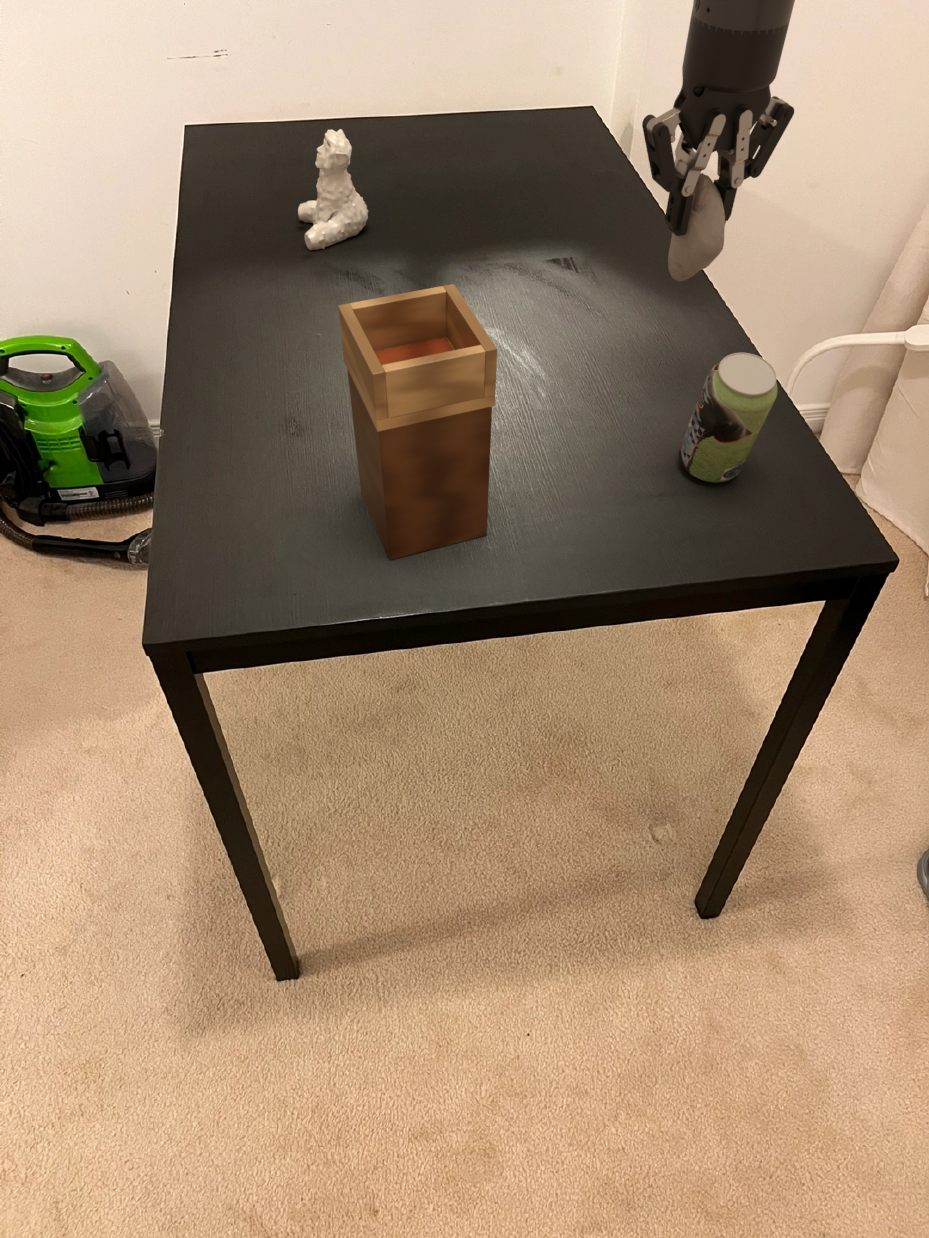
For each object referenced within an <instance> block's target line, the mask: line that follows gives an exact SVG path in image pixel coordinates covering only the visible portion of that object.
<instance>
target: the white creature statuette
mask: <svg viewBox="0 0 929 1238" xmlns="http://www.w3.org/2000/svg"><path fill="white" fill-rule="evenodd" d="M316 151H317V153H316V160H315V163H314V164H315V167H316V168H317V169H319V174H318V176H319V177H318V178H317V183H316V185H315V187H316V192H317V193H316V194H317V197H316V200H315V199H314V200H307V201H306V202H302V203H300V204H299V206H298V208H297V215H298V220H299V221H300V222H301V221H302V222H303V223H308V224H309V223H310V224H313V225H312V226H311V227H310V229H308V230H307V231H306V232H305V233H304V235H303V236H304V242H305V246H306V248H307V249H308V250H309V251H317V250H321V249H323V250H325V248H326V247H329V246H332V245H335V244H337V243H340V242H342V241H344V240H345V241H346V240H347V239H348V238H352V237H355V236H357V235H358V234H359V233H360V232H361V231H363V228H364V227H365V226H367V221H368V219H369V210H368V205H367V204H366V201H364V198H363V196H361V195H360V193H358V192H357V191H356V188H355V187H354V184H353V180H352V175H351V174H350V172H348V168H349V166H350V165H351V157H352V151H353V147H352V145H351V143H350V140H349V139H348V138H347V137H346V134H345V132H344V130H343V129H342V128H340V129H338V130H337V131H335V130H334V129H333V128H332V129H327V131H326V132H325V133H324V138H323V144H321V145H320V146H318V147H317V148H316Z"/></svg>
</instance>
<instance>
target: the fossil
mask: <svg viewBox="0 0 929 1238" xmlns="http://www.w3.org/2000/svg"><path fill="white" fill-rule="evenodd" d="M692 195H693V196H694V198H693V203H692V207H691V212H690V217H689V222H688V227H687V232H686V234H685V235H682V236H676V235H675V234H674V233H673V232H672V231H671V241H670V244H669V249H668V255H667V263H668V264H667V265H668V266H667V267H668V272H669V274H670V276H671V278H672V279H673V280H674V281H676V282H685V281H687V280H689V279H690V278H692V277H694V276H695V275H696V274H697V273H698V272H701V271H702V270H704V269H706V268H708V267H709V266H710V265H711V264H712V263H713V262H714V261H715V260H716V259H717V258H718V257H719V255H720V254H721V253H722V251H723V249H724V245H725V227H726V223H725V214H724V208H723V202H722V198H721V195H720V192H719V191H718V189H717V187H716V186H715V185H714V180H712V178H711V177H710V176H709V175H707V174H705V173H703V172H700V175H699V178H698V180H697V183H696V186H695V188H694V191H693V193H692Z"/></svg>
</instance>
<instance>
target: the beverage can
mask: <svg viewBox="0 0 929 1238" xmlns="http://www.w3.org/2000/svg"><path fill="white" fill-rule="evenodd" d="M777 396H778V384H777V373H776V370H775V368H774V367H773V365H772V364H771V363H770V362H768V361H767V360H766V359H764V358H763V357H761V356H759V355H757V354H753V353H749V352H734V353H731V354H728V355H725V357H723V358H722V359H721V361H719V362H717V363H716V364H715V365H714V366H713V367H712V368H711V369H710V370H709V372H708V374H707V376H706V379H705V381H704V384H703V386H702V389H701V392H700V394H699V397H698V399H697V402H696V404H695V407H694V409H693V412H692V415H691V417H690V420H689V423H688V426H687V428H686V430H685V433H684V435H683V437H682V441H681V443H680V446H679V450H678V458H679V461H680V463H681V465H682V467H683V468H684V470H686V471H687V473H689V474H690V475H691V476H693V477H695V478H696V479H699V480H701V481H704V482H708V483H725V482H728V481H730V480H732V479H734V478H735V477H737V476H738V475H739V473H740V472H741V470H742V468H743V466H744V464H745V462H746V460H747V458H748V456H749V454H750V452H751V450H752V448H753V445H754V444H755V442H756V440H757V438H758V435H759V433H760V431H761V429H762V427H763V425H764V424H765V421H766V419H767V417H768V416H769V413H770V411H771V409H772V407H773V405H774V403H775V401H776V399H777Z"/></svg>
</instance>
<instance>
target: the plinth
mask: <svg viewBox="0 0 929 1238" xmlns="http://www.w3.org/2000/svg"><path fill="white" fill-rule="evenodd" d="M346 369H347V368H346ZM347 378H348V387H349V396H350V406H351V415H352V424H353V432H354V441H355V451H356V461H357V469H358V478H359V487H360V494H361V497H362V499H363V501H364V503H365V506H366V508H367V511H368V514H369V515H370V518H371V520H372V522H373V524H374V527H375V529H376V532H377V534H378V536H379V539H380V541H381V542H382V546H383V548H384V550H385V553H386V555H387V558H388V559H389V561H392V560H396V559H400V558H403V557H408V556H412V555H416V554H419V553H423V552H427V551H432V550H435V549H439V548H443V547H445V546H446V547H447V546H450V545H454V544H458V543H463V542H466V541H470V540H474V539H477V538H482V537H485V536H487V535H488V513H489V490H490V467H491V466H490V465H491V442H492V437H491V436H492V419H493V418H492V416H493V415H492V414H493V406H492V407H487V408H483V409H478V410H474V411H469V412H465V413H460V414H455V415H451V416H446V417H442V418H437V419H433V420H428V421H424V422H419V423H415V424H410V425H406V426H401V427H397V428H392V429H388V430H383V431H379V432H378V431H377V430H376V428H375V425H374V423H373V421H372V419H371V417H370V415H369V413H368V411H367V409H366V406H365V404H364V402H363V400H362V398H361V396H360V394H359V392H358V390H357V388H356V385H355V383H354V381H353V379H352V377H351V375H350V373H349V371H348V369H347Z"/></svg>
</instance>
